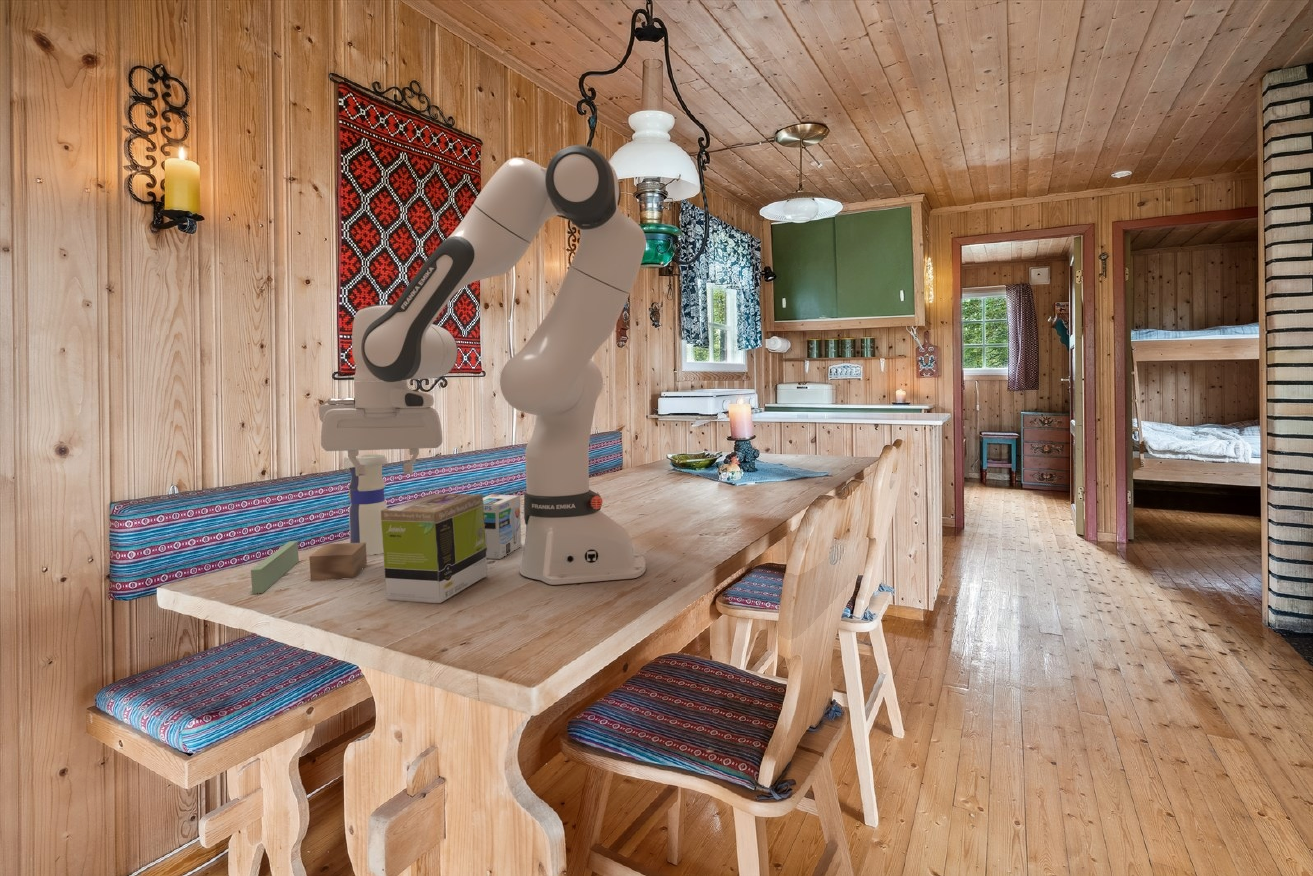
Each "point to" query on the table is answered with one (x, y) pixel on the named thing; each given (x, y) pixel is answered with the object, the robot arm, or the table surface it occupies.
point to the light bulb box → (501, 525)
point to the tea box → (433, 547)
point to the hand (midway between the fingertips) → (384, 474)
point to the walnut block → (338, 561)
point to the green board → (274, 567)
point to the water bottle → (367, 502)
